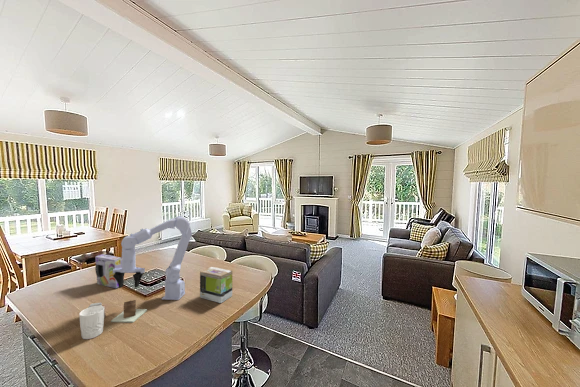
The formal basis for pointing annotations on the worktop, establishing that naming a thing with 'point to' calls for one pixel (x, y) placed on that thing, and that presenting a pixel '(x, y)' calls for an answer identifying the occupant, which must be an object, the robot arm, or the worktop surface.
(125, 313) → the walnut block
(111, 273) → the cake pan box
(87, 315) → the white cup
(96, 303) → the grey stone block
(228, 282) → the tea box
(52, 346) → the worktop surface
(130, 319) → the coaster
